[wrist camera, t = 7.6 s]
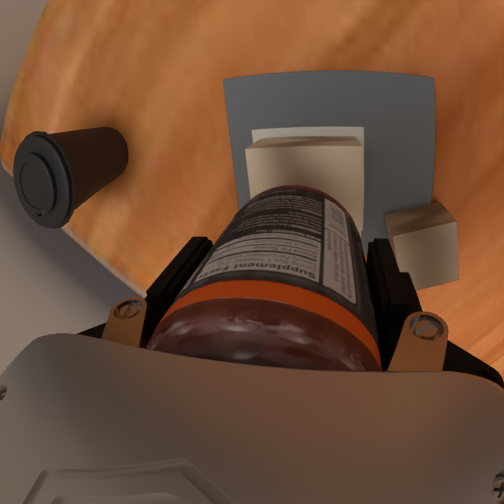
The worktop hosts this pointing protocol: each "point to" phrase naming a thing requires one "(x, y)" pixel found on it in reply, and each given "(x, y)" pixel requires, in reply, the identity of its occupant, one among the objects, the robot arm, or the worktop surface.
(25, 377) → the robot arm
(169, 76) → the worktop surface
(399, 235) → the oak block
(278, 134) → the slate mat
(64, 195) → the coffee cup
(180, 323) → the supplement bottle
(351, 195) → the maple block
